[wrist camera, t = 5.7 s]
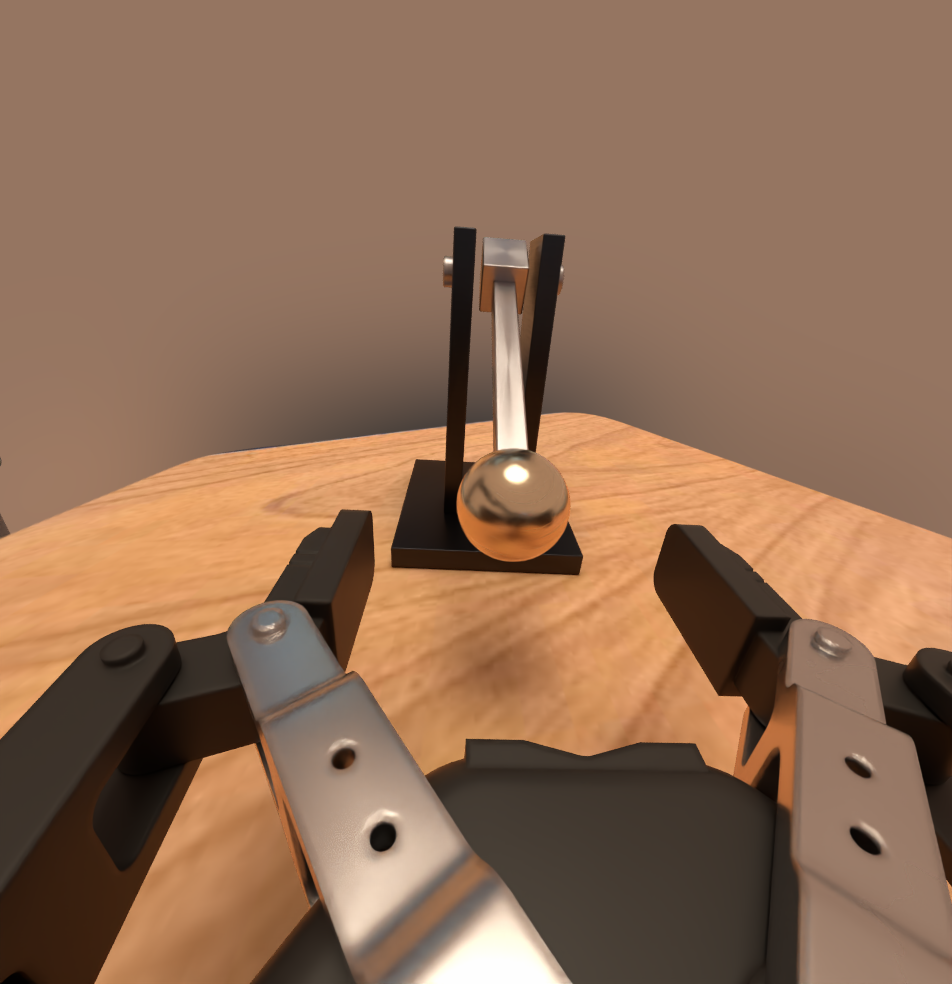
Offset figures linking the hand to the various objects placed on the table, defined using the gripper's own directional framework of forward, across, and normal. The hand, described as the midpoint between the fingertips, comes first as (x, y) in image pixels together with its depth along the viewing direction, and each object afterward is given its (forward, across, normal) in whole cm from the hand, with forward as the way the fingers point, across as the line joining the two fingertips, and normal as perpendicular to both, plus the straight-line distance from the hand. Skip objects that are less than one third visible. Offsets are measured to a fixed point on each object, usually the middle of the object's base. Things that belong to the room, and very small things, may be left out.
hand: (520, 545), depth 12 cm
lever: (+9, 0, +2) cm, 9 cm away
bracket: (+15, 0, -7) cm, 16 cm away
